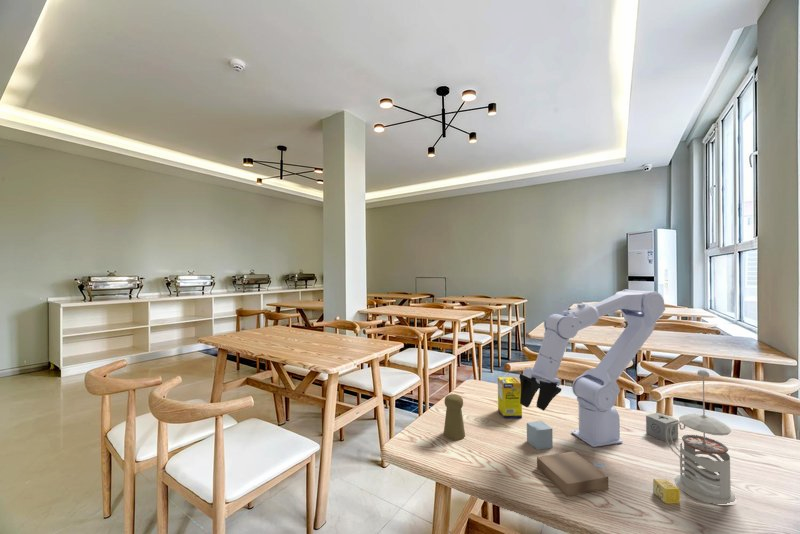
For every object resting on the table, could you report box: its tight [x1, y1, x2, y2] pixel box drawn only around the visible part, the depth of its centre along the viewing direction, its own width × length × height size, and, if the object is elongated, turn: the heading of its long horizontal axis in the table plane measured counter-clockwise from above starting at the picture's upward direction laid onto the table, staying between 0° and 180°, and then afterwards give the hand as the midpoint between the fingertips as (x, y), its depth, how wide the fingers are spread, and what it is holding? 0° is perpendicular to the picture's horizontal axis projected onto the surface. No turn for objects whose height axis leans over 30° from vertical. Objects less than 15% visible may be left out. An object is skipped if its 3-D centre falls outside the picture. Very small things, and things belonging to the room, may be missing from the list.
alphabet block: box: [652, 478, 681, 504], centre depth 67 cm, size 3×3×3 cm
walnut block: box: [536, 451, 609, 498], centre depth 74 cm, size 10×10×3 cm
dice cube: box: [645, 412, 679, 443], centre depth 91 cm, size 5×5×5 cm
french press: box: [666, 369, 736, 505], centre depth 70 cm, size 10×12×25 cm
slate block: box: [526, 420, 554, 451], centre depth 88 cm, size 4×4×5 cm
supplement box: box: [497, 376, 523, 419], centre depth 106 cm, size 6×6×11 cm
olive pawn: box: [443, 393, 466, 441], centre depth 94 cm, size 6×6×11 cm
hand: (532, 407), depth 88 cm, fingers open, 7 cm apart
